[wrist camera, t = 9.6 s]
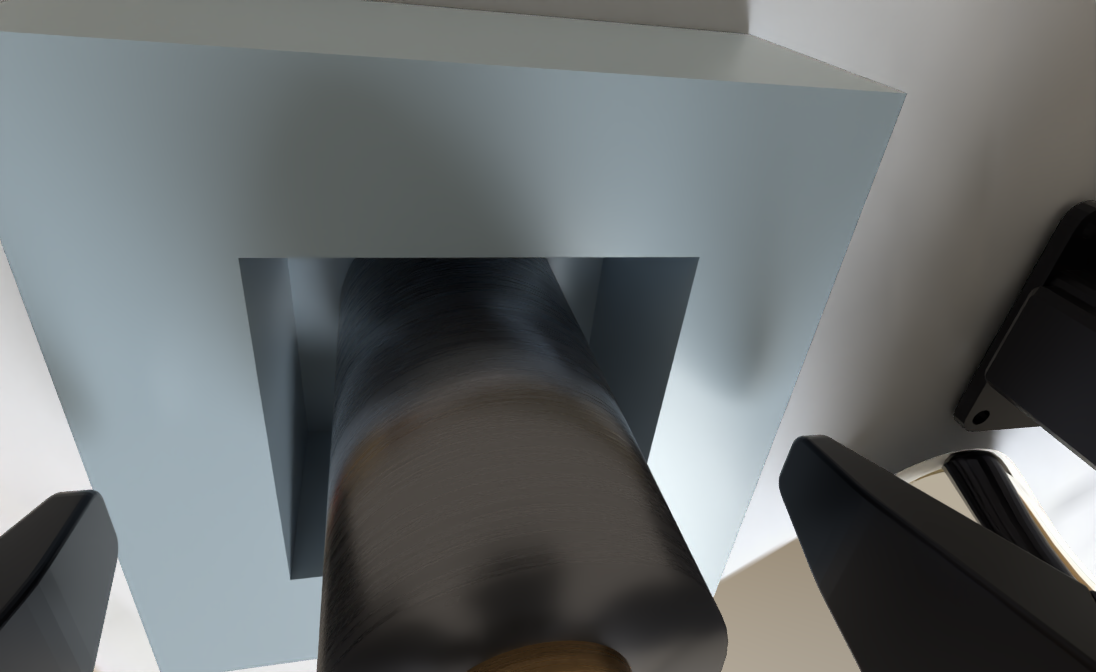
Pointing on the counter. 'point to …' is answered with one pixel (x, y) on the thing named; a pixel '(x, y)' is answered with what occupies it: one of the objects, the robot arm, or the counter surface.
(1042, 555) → the shiny silver cylinder
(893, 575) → the robot arm
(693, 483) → the box
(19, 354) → the counter surface
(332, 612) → the cell
